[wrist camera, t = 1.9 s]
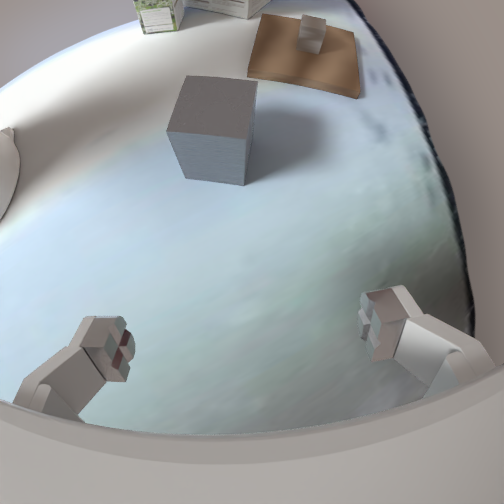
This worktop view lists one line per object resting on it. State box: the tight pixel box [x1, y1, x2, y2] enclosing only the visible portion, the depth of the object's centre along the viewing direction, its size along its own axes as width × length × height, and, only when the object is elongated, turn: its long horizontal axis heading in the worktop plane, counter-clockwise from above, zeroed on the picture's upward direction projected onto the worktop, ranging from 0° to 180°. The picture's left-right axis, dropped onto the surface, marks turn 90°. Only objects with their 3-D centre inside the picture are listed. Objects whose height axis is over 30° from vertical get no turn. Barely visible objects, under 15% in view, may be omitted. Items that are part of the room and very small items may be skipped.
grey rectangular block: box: [166, 76, 258, 186], centre depth 25 cm, size 6×6×9 cm
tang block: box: [247, 14, 360, 99], centre depth 29 cm, size 14×14×6 cm
